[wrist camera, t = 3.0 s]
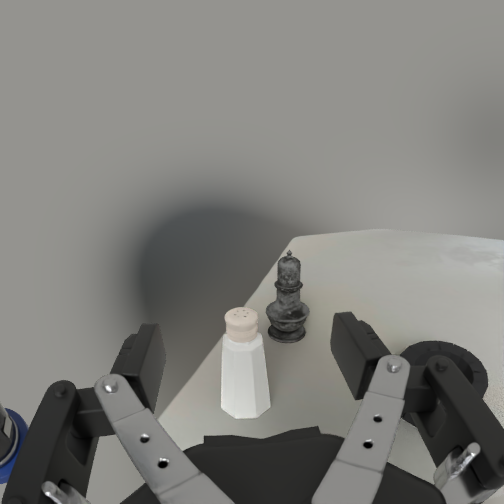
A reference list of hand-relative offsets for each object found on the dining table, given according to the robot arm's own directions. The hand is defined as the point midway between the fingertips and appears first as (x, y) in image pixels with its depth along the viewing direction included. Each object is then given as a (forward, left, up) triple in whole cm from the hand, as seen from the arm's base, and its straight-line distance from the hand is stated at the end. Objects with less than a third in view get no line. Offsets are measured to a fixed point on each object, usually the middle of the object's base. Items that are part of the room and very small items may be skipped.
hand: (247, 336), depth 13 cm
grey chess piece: (+17, +16, -16) cm, 28 cm away
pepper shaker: (+5, +9, -16) cm, 19 cm away
